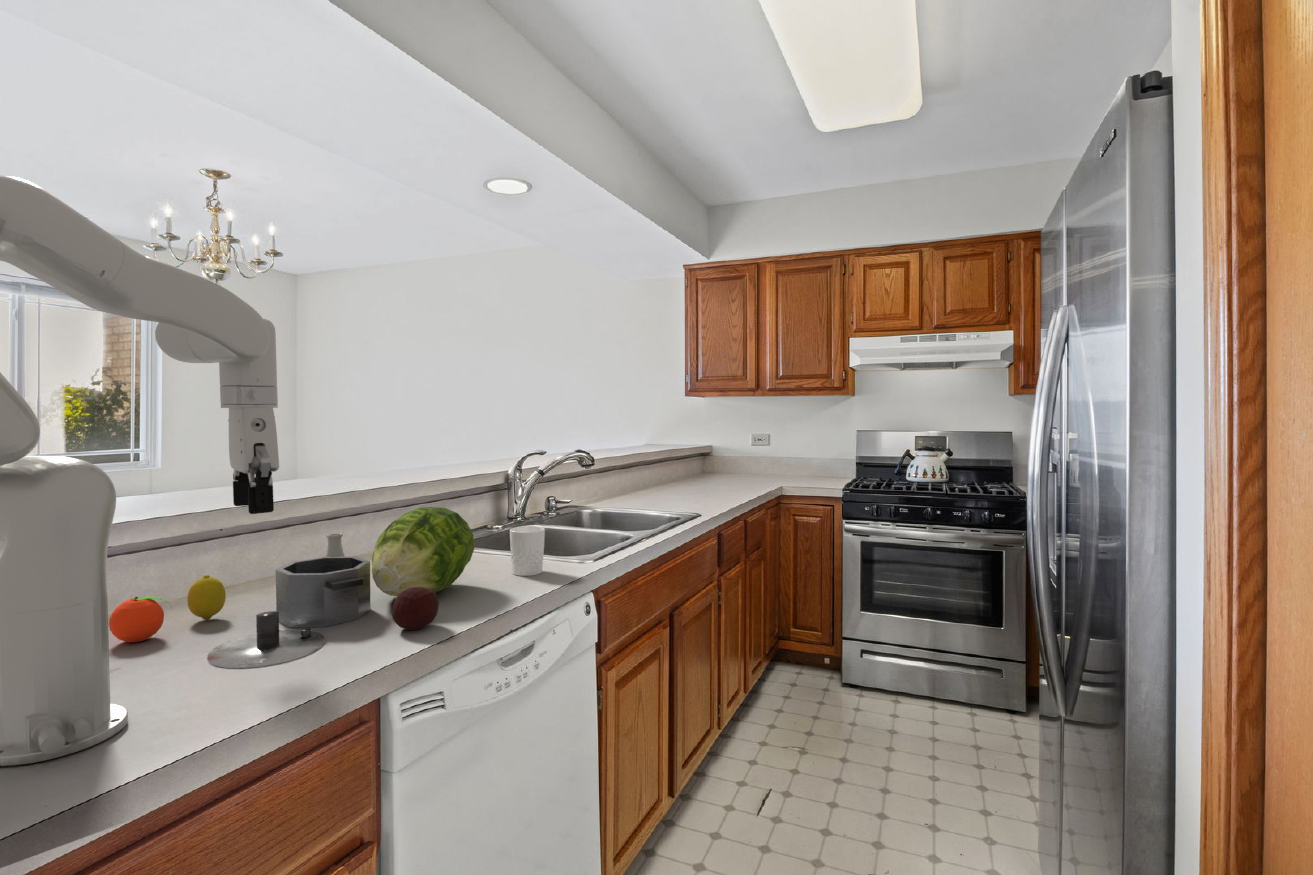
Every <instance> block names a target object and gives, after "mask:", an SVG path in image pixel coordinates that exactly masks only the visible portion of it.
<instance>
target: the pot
mask: <svg viewBox="0 0 1313 875" xmlns="http://www.w3.org/2000/svg"><path fill="white" fill-rule="evenodd" d="M275 599H276V601H275V604H276V610H275V611H276V612H279V624H280V623H281V624H282V625H284V626H286V627H287V628H291V629H292V628H327V627H330V626H335V625H338V624H343V623H347V622H351V621H355V620H359V619H361V618H362V617H363V616H364V615H366V614H367V613H368V612H369V611H371V607H372V606H371V561H370V560H368V559H363V558H361V557H359V556H345V557H325V556H322V557H320V556H319V557H315V558H314V557H313V558H308V559H302V560H301V559H300V560H295V561H291V562H288V563H287V564H285V565H282V566H280V567H278V568H276V569H275Z"/></svg>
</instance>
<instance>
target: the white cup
mask: <svg viewBox="0 0 1313 875" xmlns="http://www.w3.org/2000/svg"><path fill="white" fill-rule="evenodd" d="M545 532H546V529H545V528H544V527H541V526H527V525H526V526H517V527H513V528H510V529H509V540H510V541H509V544H510V546H509V547H510V559H511V570H512V572H511V573H512V574H513V575H515V576H518V577H530V576H537V575H540V574H542V573H543V564H544V563H543V562H544V553H545V552H544V551H545V537H546V534H545Z"/></svg>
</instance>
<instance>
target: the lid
mask: <svg viewBox="0 0 1313 875" xmlns="http://www.w3.org/2000/svg"><path fill="white" fill-rule="evenodd" d="M255 616H256V617H255V618H256V621H255V622H256V623H255V625H256V633H252V634H248V635H245V636H244V635H243V636H239V637H237V638H234V639H231V640H228V641H225V642H223V643H221V644H219V645H217V646H214V647H213V648H212V649H211V650H209V652H208V653H207V655H206V656H207V657H206V660H207V662H208V664H210V665H212V666H214V667H219V668H226V669H251V668H253V669H254V668H260V667H268V666H273V665H278V664H279V665H280V664H283V663H287V662H291V661H294V660H298V659H301V658H303V657H305V656H308V655H310V654H311V655H312V653H314V652H316V651H318V650H320V649H321V648H322V647H323V645H325V642H326V641H325V636H324V635H323V634H322V633H320V632H318V631H314V630H312V627H303V628H302V629H281V630H280V622H279V612H276V610H273V611H272V610H271V611H264V612H263V611H262V612H260V613H257V614H256V615H255Z"/></svg>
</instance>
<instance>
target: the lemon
mask: <svg viewBox="0 0 1313 875" xmlns="http://www.w3.org/2000/svg"><path fill="white" fill-rule="evenodd" d="M226 595H227V594H226V590H225V586H224V584H223V583H222V581H221V580H219V579H218V578H216V577H214V576H210V575H209V574H204V575H202V577H201V578H199V579H197V580H195V581H194V582H193V583H192V584H191V585H190V587H189V589H188V593H187V607H188V609H189V611H190V612H191V613H192V615H194V616H196V617H199V618H201V619H203V620H204V621H210V620H211V618H212V617H213V616H215V615H216V614H219V613H220V612H221V610H223V608H224V605H225V602H226V597H227V596H226Z"/></svg>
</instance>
